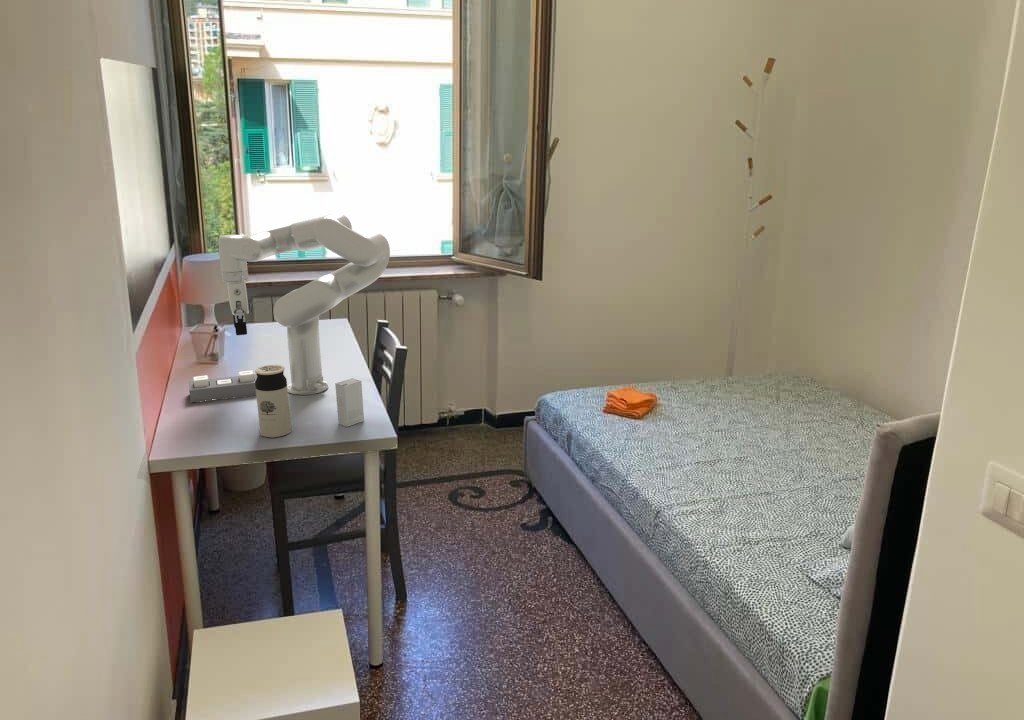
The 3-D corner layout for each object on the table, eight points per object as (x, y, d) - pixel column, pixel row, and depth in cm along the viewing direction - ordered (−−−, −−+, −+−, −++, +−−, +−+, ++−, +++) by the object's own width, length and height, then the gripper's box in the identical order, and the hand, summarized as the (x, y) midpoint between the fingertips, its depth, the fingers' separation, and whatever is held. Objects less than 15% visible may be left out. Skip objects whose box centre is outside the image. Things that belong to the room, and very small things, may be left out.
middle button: (231, 386, 241) (230, 378, 240) (232, 390, 237) (231, 382, 236) (218, 388, 239) (217, 380, 239) (218, 392, 236) (217, 384, 235)
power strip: (262, 385, 247) (261, 373, 246) (265, 394, 239) (263, 381, 238) (190, 393, 239) (189, 381, 238) (190, 403, 231) (189, 390, 230)
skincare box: (355, 417, 219) (352, 377, 216) (365, 421, 217) (362, 380, 213) (337, 424, 215) (334, 382, 211) (347, 428, 212) (344, 385, 209)
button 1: (208, 383, 238) (207, 375, 237) (208, 386, 234) (208, 378, 233) (194, 384, 236) (193, 376, 236) (194, 388, 233) (193, 380, 232)
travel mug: (273, 425, 214) (267, 363, 209) (297, 429, 211) (291, 366, 206) (254, 435, 207) (247, 371, 202) (278, 440, 204) (272, 374, 199)
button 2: (253, 377, 242) (252, 370, 242) (254, 381, 239) (253, 373, 238) (239, 379, 241) (238, 371, 240) (240, 383, 237) (239, 375, 237)
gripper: (250, 280, 229) (255, 336, 234) (246, 270, 244) (251, 323, 249) (223, 282, 226) (229, 339, 231) (220, 272, 242) (226, 325, 247)
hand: (240, 330), depth 240 cm, fingers open, 9 cm apart
